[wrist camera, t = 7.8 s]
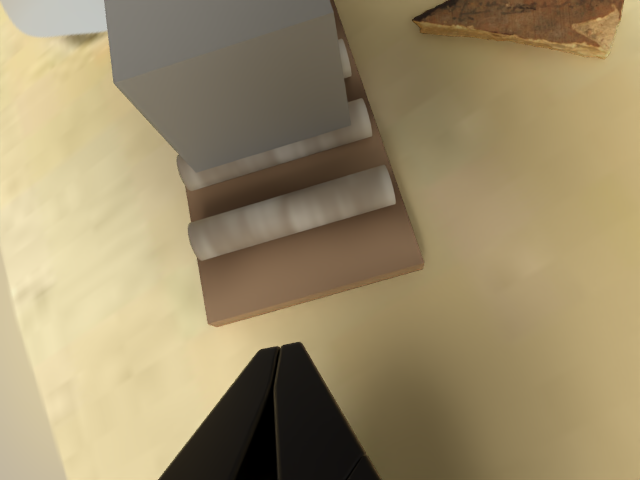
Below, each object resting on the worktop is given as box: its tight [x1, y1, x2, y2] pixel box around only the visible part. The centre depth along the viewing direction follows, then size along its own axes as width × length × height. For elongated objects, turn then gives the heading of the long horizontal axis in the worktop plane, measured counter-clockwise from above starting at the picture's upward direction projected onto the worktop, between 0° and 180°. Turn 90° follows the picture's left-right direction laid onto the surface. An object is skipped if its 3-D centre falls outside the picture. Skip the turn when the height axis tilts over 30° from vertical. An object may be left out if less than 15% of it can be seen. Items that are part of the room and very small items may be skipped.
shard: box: [412, 0, 624, 59], centre depth 26 cm, size 11×8×2 cm
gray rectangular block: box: [104, 0, 351, 173], centre depth 20 cm, size 10×8×7 cm
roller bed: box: [177, 0, 424, 327], centre depth 23 cm, size 21×11×8 cm, turn 14°
